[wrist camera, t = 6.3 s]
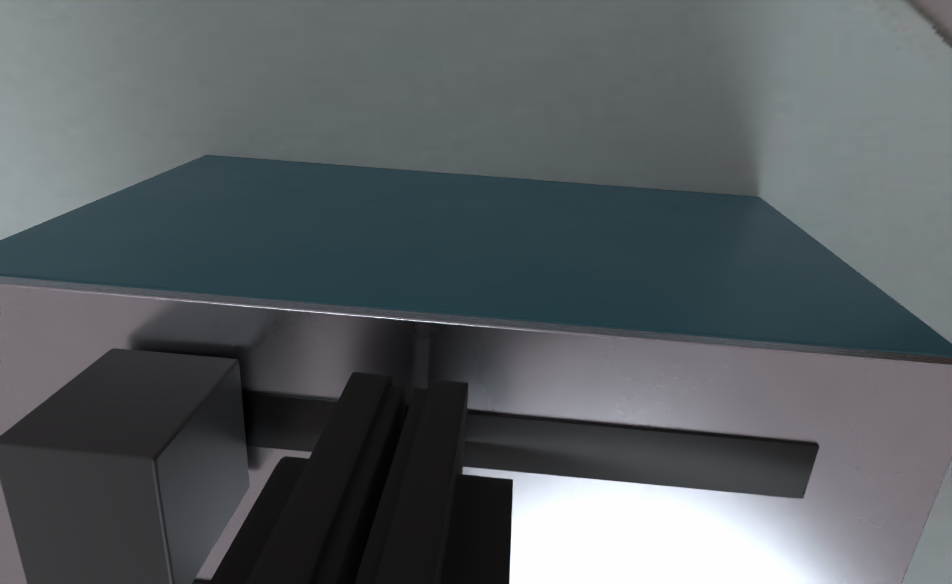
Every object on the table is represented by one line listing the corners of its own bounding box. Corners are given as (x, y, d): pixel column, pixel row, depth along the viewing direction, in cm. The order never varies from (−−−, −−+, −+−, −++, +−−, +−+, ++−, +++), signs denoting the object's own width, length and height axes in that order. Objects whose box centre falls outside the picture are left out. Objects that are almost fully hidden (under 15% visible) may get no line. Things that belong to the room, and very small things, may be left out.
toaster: (204, 154, 19) (-95, 276, 10) (761, 196, 19) (991, 370, 9) (231, 441, 23) (33, 722, 14) (695, 485, 22) (811, 813, 13)
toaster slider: (111, 346, 10) (-12, 442, 8) (239, 358, 10) (153, 459, 8) (133, 475, 11) (27, 596, 9) (251, 486, 11) (177, 611, 9)
